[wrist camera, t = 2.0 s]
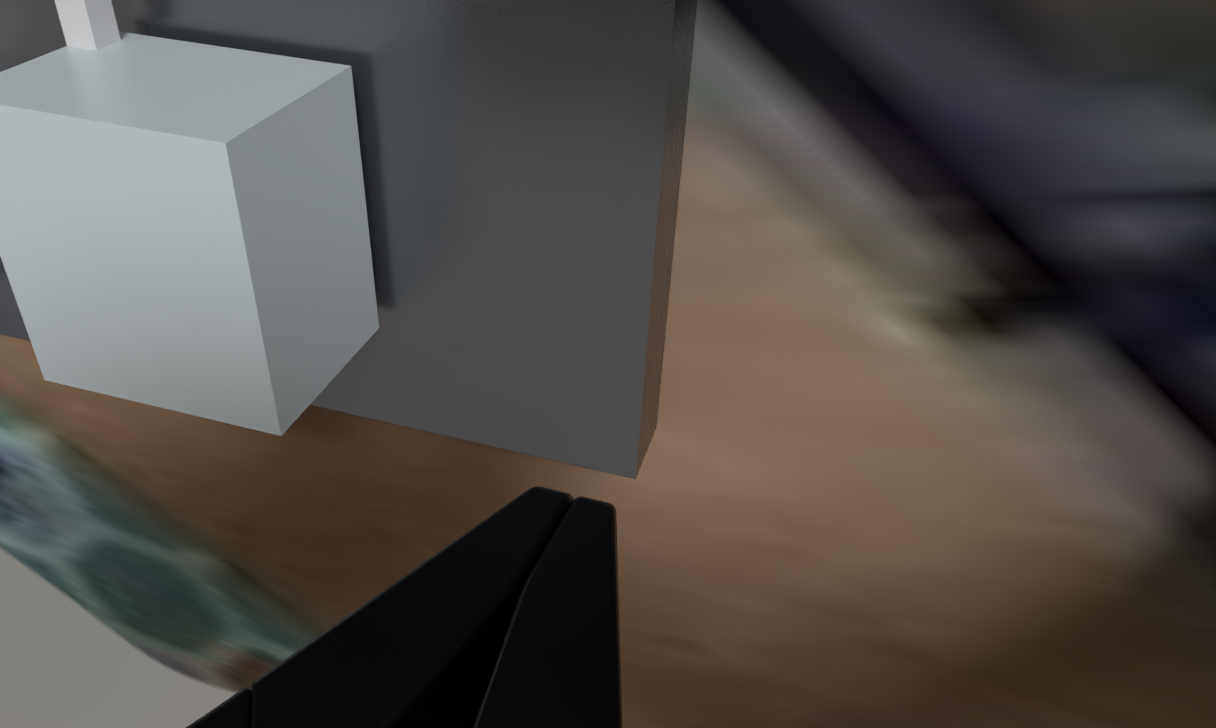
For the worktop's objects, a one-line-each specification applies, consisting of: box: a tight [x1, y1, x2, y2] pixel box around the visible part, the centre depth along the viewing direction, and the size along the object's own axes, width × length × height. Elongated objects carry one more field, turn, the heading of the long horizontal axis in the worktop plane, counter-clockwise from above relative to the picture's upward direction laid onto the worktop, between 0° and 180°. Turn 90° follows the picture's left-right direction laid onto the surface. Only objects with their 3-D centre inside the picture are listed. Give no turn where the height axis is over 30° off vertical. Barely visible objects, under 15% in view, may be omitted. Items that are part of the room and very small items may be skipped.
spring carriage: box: [0, 0, 379, 436], centre depth 13 cm, size 4×7×3 cm, turn 178°
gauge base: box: [0, 0, 697, 479], centre depth 15 cm, size 17×10×5 cm, turn 88°
